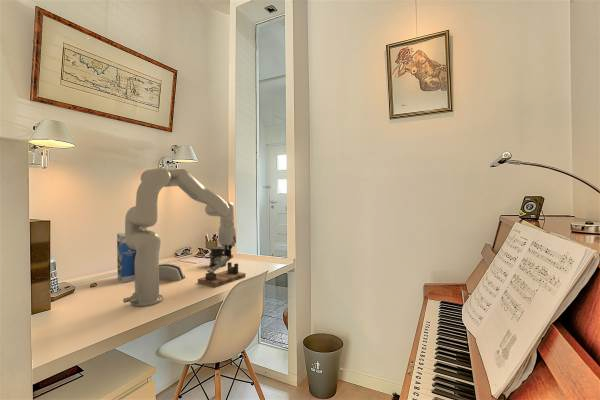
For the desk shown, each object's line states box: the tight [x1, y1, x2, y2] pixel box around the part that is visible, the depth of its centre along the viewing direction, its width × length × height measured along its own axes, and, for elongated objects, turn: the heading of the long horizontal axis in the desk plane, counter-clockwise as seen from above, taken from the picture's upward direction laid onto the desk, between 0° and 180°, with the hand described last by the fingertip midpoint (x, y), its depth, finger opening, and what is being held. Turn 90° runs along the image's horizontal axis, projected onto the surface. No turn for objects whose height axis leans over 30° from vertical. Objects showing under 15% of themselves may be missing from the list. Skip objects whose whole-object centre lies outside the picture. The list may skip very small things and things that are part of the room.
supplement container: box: [209, 246, 227, 268], centre depth 196 cm, size 10×10×12 cm
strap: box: [206, 254, 234, 273], centre depth 162 cm, size 17×4×2 cm, turn 147°
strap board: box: [197, 261, 246, 288], centre depth 163 cm, size 22×14×8 cm, turn 147°
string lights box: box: [116, 232, 137, 284], centre depth 165 cm, size 13×8×26 cm, turn 42°
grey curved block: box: [159, 263, 186, 281], centre depth 165 cm, size 17×5×10 cm, turn 78°
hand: (228, 256), depth 167 cm, fingers closed
